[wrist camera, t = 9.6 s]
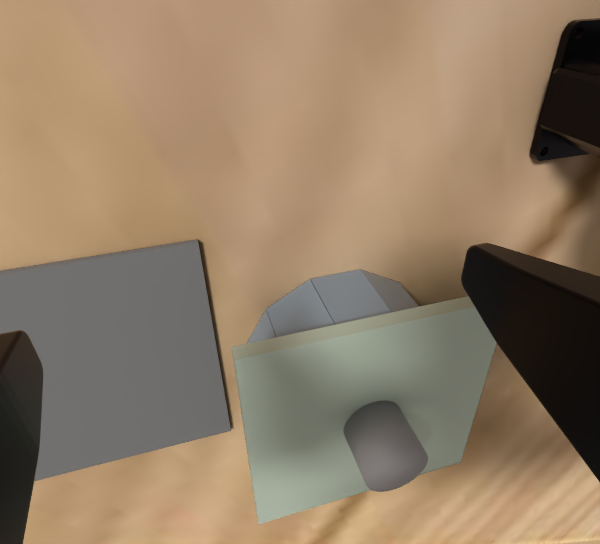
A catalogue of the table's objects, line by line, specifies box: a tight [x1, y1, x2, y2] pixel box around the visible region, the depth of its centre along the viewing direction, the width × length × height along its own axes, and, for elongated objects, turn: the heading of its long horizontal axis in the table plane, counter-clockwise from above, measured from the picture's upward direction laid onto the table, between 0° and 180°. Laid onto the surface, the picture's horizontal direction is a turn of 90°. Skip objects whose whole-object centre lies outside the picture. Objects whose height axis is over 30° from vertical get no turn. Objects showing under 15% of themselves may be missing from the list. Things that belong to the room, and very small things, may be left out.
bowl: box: [247, 270, 419, 344], centre depth 26 cm, size 11×11×5 cm
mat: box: [0, 239, 231, 481], centre depth 24 cm, size 14×14×1 cm
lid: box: [232, 296, 497, 524], centre depth 22 cm, size 13×13×4 cm
